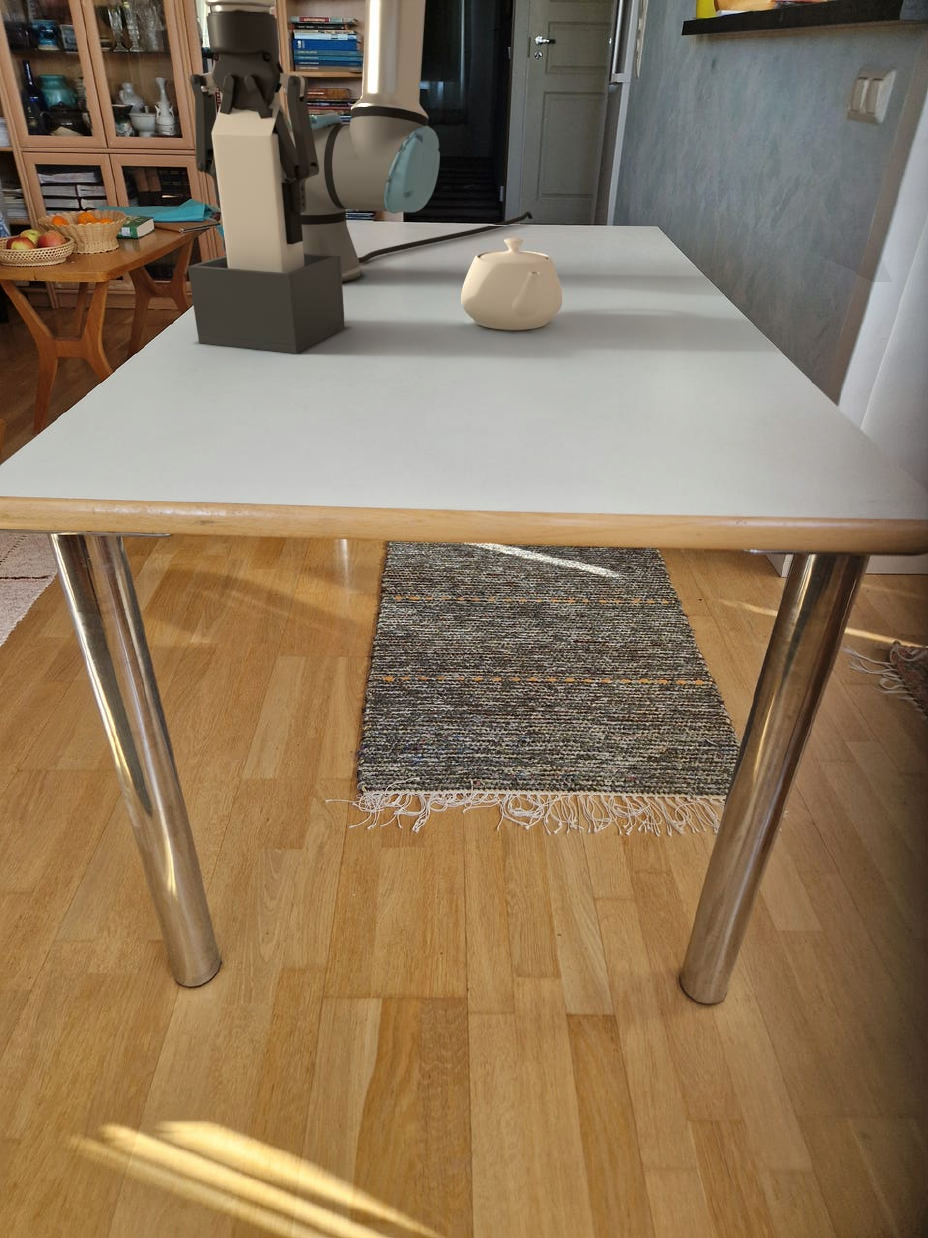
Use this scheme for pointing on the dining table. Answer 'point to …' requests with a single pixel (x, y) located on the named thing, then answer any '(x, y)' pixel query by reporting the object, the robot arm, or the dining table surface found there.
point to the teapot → (512, 289)
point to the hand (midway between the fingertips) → (264, 239)
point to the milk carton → (253, 191)
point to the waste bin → (268, 304)
